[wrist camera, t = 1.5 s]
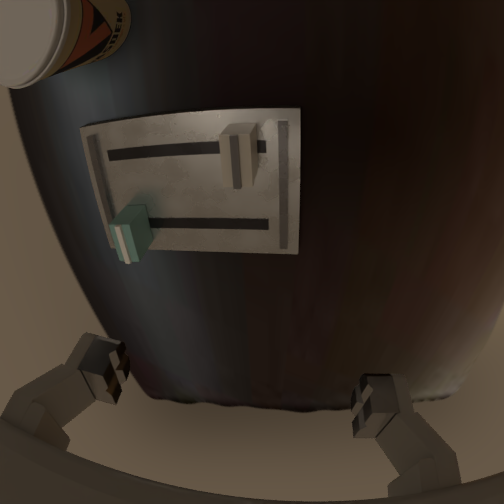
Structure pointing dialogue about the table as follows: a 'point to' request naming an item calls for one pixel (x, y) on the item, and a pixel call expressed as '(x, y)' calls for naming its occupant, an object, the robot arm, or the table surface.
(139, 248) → the fader
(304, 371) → the table surface
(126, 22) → the coffee cup
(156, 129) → the console
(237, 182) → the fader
